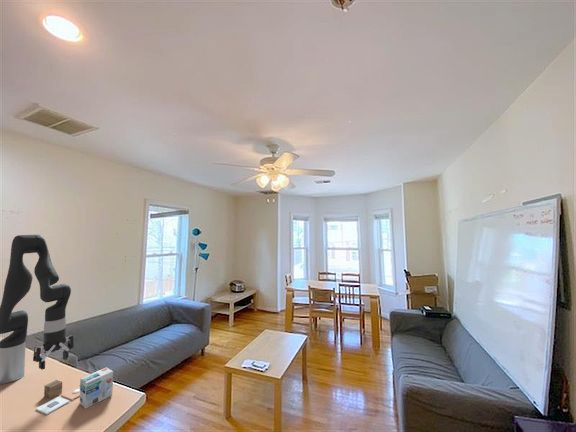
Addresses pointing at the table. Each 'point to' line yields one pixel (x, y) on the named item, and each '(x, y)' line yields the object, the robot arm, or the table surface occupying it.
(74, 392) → the mug tile
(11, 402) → the table surface
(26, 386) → the table surface
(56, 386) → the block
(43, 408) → the box tile
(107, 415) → the table surface
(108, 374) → the light bulb box
